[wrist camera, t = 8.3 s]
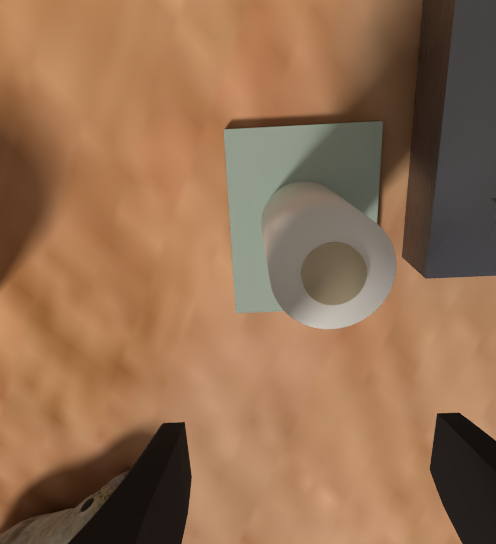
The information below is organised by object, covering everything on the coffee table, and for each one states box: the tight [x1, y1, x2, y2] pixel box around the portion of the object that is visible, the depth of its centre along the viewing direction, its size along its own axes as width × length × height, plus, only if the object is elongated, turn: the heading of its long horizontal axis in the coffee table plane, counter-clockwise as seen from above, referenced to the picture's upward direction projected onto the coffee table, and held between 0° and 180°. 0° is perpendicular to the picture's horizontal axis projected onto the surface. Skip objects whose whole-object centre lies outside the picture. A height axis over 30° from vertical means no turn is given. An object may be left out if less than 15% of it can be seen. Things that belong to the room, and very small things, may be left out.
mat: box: [224, 121, 383, 313], centre depth 20 cm, size 9×7×1 cm
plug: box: [261, 181, 396, 329], centre depth 16 cm, size 4×4×7 cm
